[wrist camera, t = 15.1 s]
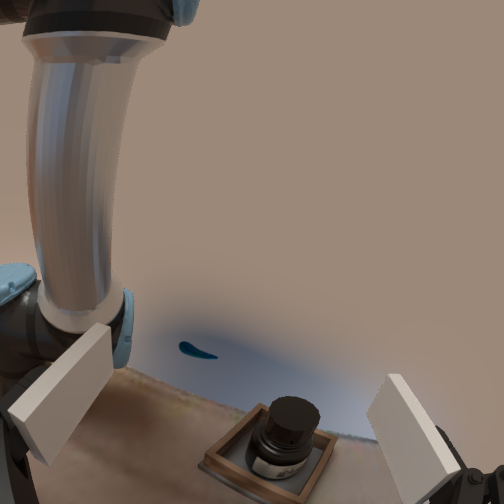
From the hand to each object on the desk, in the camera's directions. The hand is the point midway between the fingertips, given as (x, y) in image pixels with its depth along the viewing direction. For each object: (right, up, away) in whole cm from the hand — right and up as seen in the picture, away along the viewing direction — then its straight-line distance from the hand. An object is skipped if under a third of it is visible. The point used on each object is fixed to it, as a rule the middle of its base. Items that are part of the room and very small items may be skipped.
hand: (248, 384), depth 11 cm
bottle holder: (+3, -27, +22) cm, 35 cm away
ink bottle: (+3, -26, +22) cm, 34 cm away
